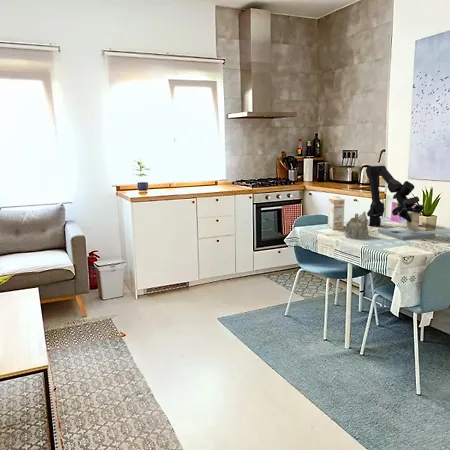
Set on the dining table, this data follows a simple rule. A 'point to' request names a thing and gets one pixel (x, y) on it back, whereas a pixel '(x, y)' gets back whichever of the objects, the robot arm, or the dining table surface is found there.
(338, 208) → the coffeecake box
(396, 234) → the board
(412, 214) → the beech post
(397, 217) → the gum box
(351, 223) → the grey rough lump
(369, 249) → the dining table surface
